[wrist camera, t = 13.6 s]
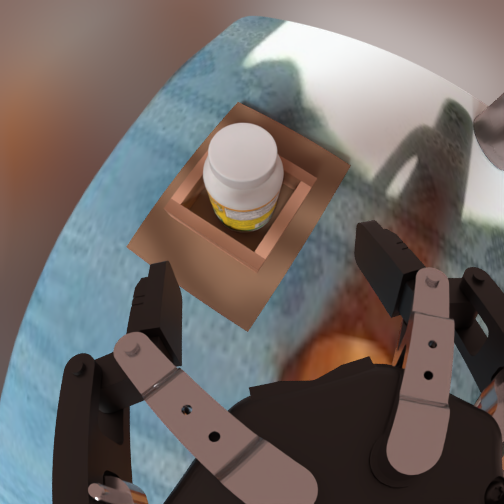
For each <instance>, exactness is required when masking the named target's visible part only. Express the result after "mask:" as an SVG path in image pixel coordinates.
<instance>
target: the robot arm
mask: <svg viewBox="0 0 504 504" xmlns="http://www.w3.org/2000/svg"><path fill="white" fill-rule="evenodd" d="M474 130H475V135H476V137H477V140H478V142H479V144H480V146H481V148H482V150H483V152H484V153H485V155H486V156H487V157H488V159H489V160H490V161H491V162H492V163H493V164H494V165H495V166H496V167H497V168H499V169H500V170H503V171H504V93H503V94H502V95H501V96H500V97H499V98H498V99H497V100H495V101H494V102H493V103H492V104H491V105H490V106H489V107H488V108H486V109H485V110H484V111H483V112H482V113H481V114H480V115H479V116H478V117H476V119H475V121H474ZM354 253H355V260H356V263H357V265H358V267H359V268H360V270H361V271H362V273H363V274H364V276H365V277H366V279H367V280H368V282H369V283H370V285H371V287H372V288H373V290H374V291H375V293H376V294H377V296H378V297H379V299H380V301H381V302H382V304H383V305H384V307H385V309H386V310H387V312H388V313H389V315H390V317H391V318H392V317H395V316H398V315H401V316H402V317H403V319H402V322H401V327H400V332H399V337H398V342H397V346H396V351H395V355H394V359H393V362H392V365H387V364H373V363H372V361H371V359H370V357H369V356H368V357H365V358H362V359H359V360H356V361H353V362H350V363H347V364H343V365H341V366H339V367H338V368H336V369H334V370H332V371H330V372H329V373H327V374H325V375H323V376H321V377H320V378H318V379H316V380H311V381H278V382H274V383H269V384H264V385H260V386H255V387H249V390H250V395H251V396H249V397H246V398H244V399H243V400H241V401H239V402H238V403H236V404H235V405H234V406H232V407H231V408H230V409H229V410H228V411H227V410H226V409H224V408H223V407H222V406H221V405H220V404H219V403H218V402H216V401H215V400H214V399H213V398H212V397H211V396H210V395H209V394H208V393H206V392H205V391H204V390H203V389H202V388H201V387H200V386H199V385H198V384H197V383H196V382H195V381H194V380H193V379H191V378H190V377H189V376H188V375H187V374H186V373H185V372H184V371H183V370H182V369H181V368H176V366H182V295H181V291H180V288H179V285H178V282H177V280H176V277H175V275H174V272H173V269H172V267H171V264H170V262H169V261H163V262H158V263H153V264H151V265H150V269H149V274H148V277H145V278H141V280H140V281H139V283H138V284H137V286H136V287H135V291H134V296H133V298H134V299H133V301H132V307H131V311H130V316H129V322H128V327H127V333H126V335H124V336H123V337H122V338H120V339H119V340H118V342H117V343H116V345H115V347H114V352H112V353H110V354H108V355H105V356H103V357H101V358H98V359H96V360H94V359H93V358H92V356H91V355H89V354H86V353H81V354H78V355H75V356H74V357H72V358H71V359H70V360H69V361H68V363H67V364H66V366H65V369H64V373H63V379H62V384H61V390H60V397H59V403H58V410H57V418H56V427H55V437H54V450H53V471H52V502H53V504H148V501H147V497H146V495H145V493H144V492H143V491H142V489H141V488H139V487H138V486H136V485H134V484H133V483H132V469H131V452H130V406H131V405H134V404H136V403H139V402H141V401H144V400H145V401H146V403H147V404H148V405H149V406H150V407H151V409H152V410H153V411H154V412H155V414H156V415H157V416H158V417H159V418H160V419H161V421H162V422H163V423H164V424H165V425H166V426H167V428H168V429H169V430H170V431H171V432H172V433H173V434H174V435H175V436H176V438H177V439H178V440H179V441H180V442H181V443H182V444H183V445H184V446H185V447H186V448H187V449H188V450H189V451H190V452H191V453H192V454H193V455H194V456H195V457H196V458H195V459H194V461H193V462H192V464H191V465H190V467H189V468H188V469H187V471H186V472H185V474H184V475H183V477H182V478H181V480H180V481H179V482H178V484H177V485H176V487H175V488H174V490H173V491H172V492H171V494H170V495H169V496H168V498H167V499H166V501H165V502H164V503H163V504H504V475H503V469H502V442H504V293H503V292H502V291H501V289H500V288H499V287H498V286H497V284H496V283H495V282H494V281H493V280H492V278H491V277H490V276H489V275H488V274H487V273H486V272H485V271H483V270H482V269H479V268H476V267H470V268H467V269H466V270H465V272H464V274H463V277H462V278H447V276H446V275H445V274H444V273H443V272H441V271H440V270H438V269H435V268H428V267H427V268H426V267H425V266H424V265H423V263H422V262H421V261H420V260H419V259H418V258H417V257H416V255H415V254H414V253H413V252H412V251H411V250H410V249H408V247H407V245H406V244H405V243H403V241H402V240H401V239H400V238H399V237H398V236H397V235H396V234H395V233H393V232H391V231H389V230H388V229H383V228H382V227H381V226H380V225H379V224H378V223H377V222H376V221H375V220H371V221H366V222H361V223H358V224H357V228H356V240H355V252H354ZM478 314H479V315H480V317H481V318H482V320H483V321H484V323H485V324H486V326H487V328H488V331H489V335H488V338H487V336H486V335H485V333H484V331H483V330H482V328H481V327H480V325H479V324H478V322H477V321H476V317H477V315H478ZM454 343H455V345H456V346H457V348H458V350H459V352H460V353H461V355H462V357H463V359H464V361H465V363H466V364H467V366H468V368H469V370H470V372H471V374H472V376H473V378H474V380H475V382H476V384H477V386H478V388H479V390H480V392H481V405H480V407H479V408H478V407H476V406H474V405H472V404H470V403H468V402H466V401H464V400H462V399H460V398H458V397H456V396H454V395H452V394H450V393H449V391H450V383H451V374H452V363H453V349H454Z"/></svg>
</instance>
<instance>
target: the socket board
mask: <svg viewBox="0 0 504 504" xmlns="http://www.w3.org/2000/svg"><path fill="white" fill-rule="evenodd" d="M235 123H251V124H255V125H258V126H260V127H262V128H263V129H265V130H266V131H267V132H269V133H270V135H271V136H272V137H273V139H274V140H275V142H276V146H277V154H278V155H279V157H280V159H281V161H282V165H283V171H284V176H283V182H282V186H281V189H280V193H279V196H278V199H277V203H276V207H275V210H274V213H273V215H272V217H271V219H270V220H269V221H268V222H267V223H266V224H265V225H264V226H263V227H261V228H260V229H258V230H255V231H252V232H236V231H233V230H230V229H228V228H227V227H226V226H224V225H223V224H222V223H221V221H220V220H219V219H218V218H217V216H216V214H215V212H214V209H213V206H212V204H211V201H210V198H209V195H208V192H207V189H206V187H205V183H204V179H203V168H204V163H205V160H206V158H207V156H208V148H209V144H210V142H211V140H212V138H213V137H214V135H215V134H216V133H217V132H218V131H220V130H221V129H222V128H224V127H226V126H228V125H231V124H235ZM350 166H351V165H349V164H348V163H346V162H344V161H343V160H341V159H340V158H338V157H337V156H335V155H333V154H332V153H330V152H329V151H327V150H325V149H324V148H322V147H320V146H319V145H317V144H315V143H314V142H312V141H310V140H309V139H307V138H305V137H303V136H302V135H300V134H298V133H296V132H295V131H293V130H291V129H289V128H288V127H286V126H284V125H282V124H280V123H278V122H277V121H275V120H273V119H271V118H269V117H267V116H265V115H263V114H261V113H259V112H257V111H255V110H253V109H251V108H249V107H247V106H245V105H243V104H241V103H239V102H238V103H237V104H236V105H235V106H234V107H233V108H232V109H231V110H230V112H229V113H228V114H227V115H226V116H225V117H224V118H223V119H222V121H221V122H220V123H219V124H218V125H217V126H216V128H215V129H214V130H213V131H212V132H211V133H210V135H209V136H208V137H207V138H206V139H205V141H204V142H203V143H202V144H201V146H200V147H199V148H198V149H197V150H196V152H195V153H194V154H193V155H192V157H191V158H190V159H189V160H188V162H187V163H186V164H185V165H184V167H183V168H182V169H181V171H180V172H179V173H178V175H177V176H176V177H175V178H174V180H173V181H172V182H171V184H170V185H169V186H168V188H167V189H166V191H165V192H164V193H163V195H162V196H161V197H160V199H159V200H158V201H157V203H156V204H155V206H154V207H153V208H152V210H151V211H150V213H149V214H148V216H147V217H146V218H145V220H144V221H143V223H142V224H141V226H140V227H139V229H138V230H137V232H136V233H135V235H134V236H133V238H132V239H131V241H130V242H129V244H128V245H127V248H128V249H130V250H131V251H132V252H134V253H135V254H136V255H138V256H139V257H140V258H142V259H143V260H144V261H146V262H147V263H148V264H150V265H151V264H153V263H158V262H163V261H169V262H170V264H171V267H172V269H173V272H174V275H175V277H176V280H177V282H178V285H179V286H180V287H182V288H183V289H184V290H186V291H187V292H189V293H190V294H192V295H193V296H195V297H196V298H197V299H199V300H200V301H202V302H203V303H205V304H206V305H208V306H209V307H211V308H212V309H214V310H215V311H217V312H218V313H220V314H221V315H223V316H224V317H226V318H227V319H229V320H230V321H232V322H233V323H235V324H236V325H238V326H240V327H241V328H243V329H244V330H246V331H247V332H248V331H249V329H250V328H251V326H252V325H253V323H254V322H255V320H256V319H257V317H258V316H259V314H260V313H261V311H262V309H263V308H264V306H265V305H266V303H267V302H268V300H269V299H270V297H271V296H272V294H273V293H274V291H275V289H276V288H277V286H278V285H279V283H280V282H281V280H282V278H283V277H284V275H285V274H286V272H287V271H288V269H289V267H290V266H291V264H292V263H293V261H294V259H295V258H296V256H297V255H298V253H299V251H300V250H301V248H302V247H303V245H304V243H305V242H306V240H307V238H308V237H309V235H310V234H311V232H312V230H313V229H314V227H315V225H316V224H317V222H318V220H319V219H320V217H321V215H322V214H323V212H324V210H325V209H326V207H327V205H328V204H329V202H330V200H331V199H332V197H333V195H334V193H335V192H336V190H337V188H338V187H339V185H340V183H341V182H342V180H343V178H344V176H345V175H346V173H347V171H348V169H349V168H350Z"/></svg>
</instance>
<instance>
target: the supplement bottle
mask: <svg viewBox="0 0 504 504" xmlns="http://www.w3.org/2000/svg"><path fill="white" fill-rule="evenodd" d="M283 176H284V171H283V165H282V161H281V159H280V157H279V155H278V154H277V146H276V142H275V140H274V139H273V137H272V136H271V135H270V133H269V132H267V131H266V130H265V129H263V128H262V127H260V126H258V125H255V124H251V123H235V124H231V125H228V126H226V127H224V128H222V129H221V130H220V131H218V132H217V133H216V134H215V135H214V137H213V138H212V140H211V142H210V144H209V148H208V156H207V158H206V160H205V163H204V168H203V179H204V183H205V187H206V189H207V192H208V195H209V198H210V201H211V204H212V206H213V209H214V212H215V214H216V216H217V218H218V219H219V220H220V221H221V223H222V224H223V225H224V226H226V227H227V228H228V229H230V230H233V231H236V232H252V231H255V230H258V229H260V228H261V227H263V226H264V225H265V224H266V223H267V222H268V221H269V220H270V219H271V217H272V215H273V213H274V210H275V207H276V203H277V199H278V196H279V193H280V189H281V186H282V182H283Z"/></svg>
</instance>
